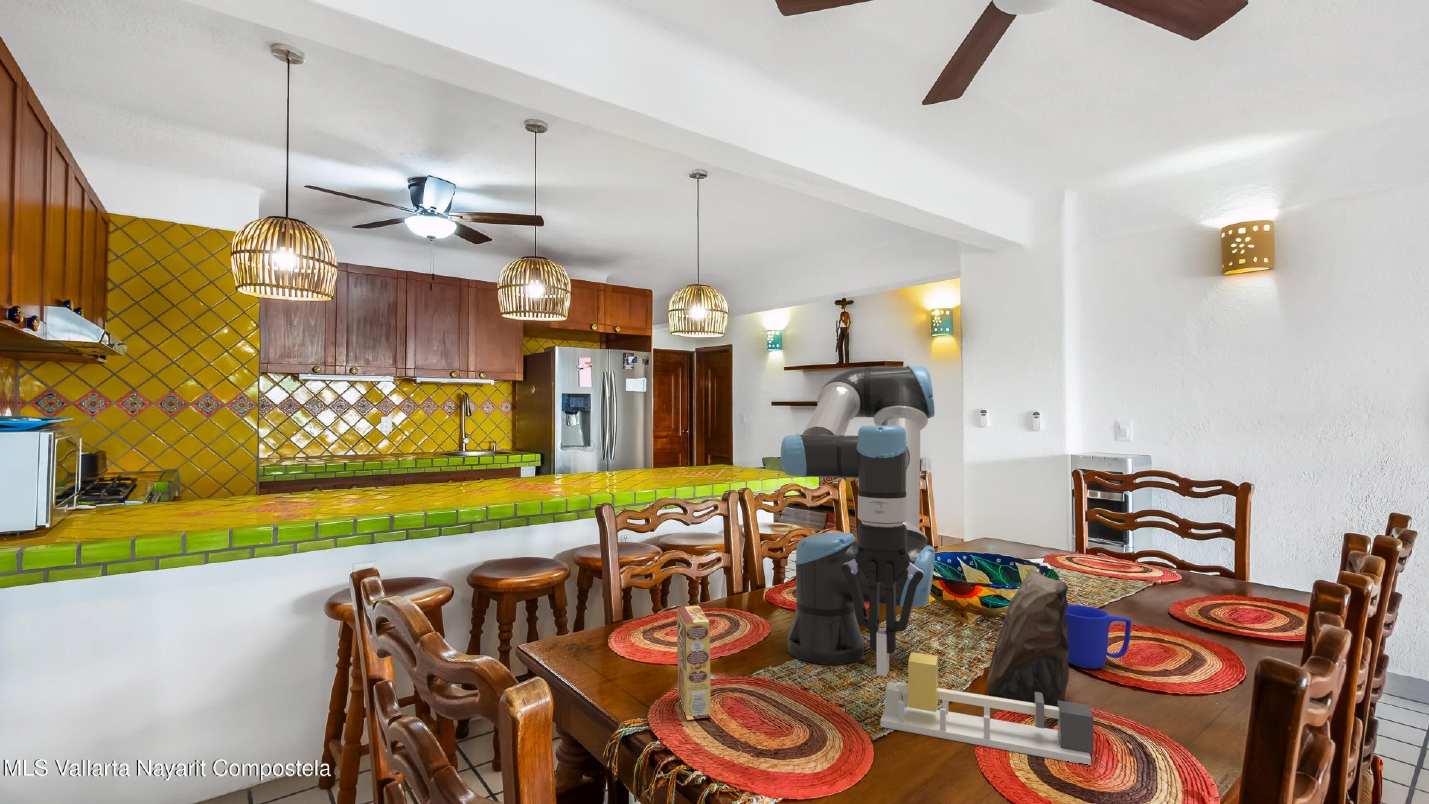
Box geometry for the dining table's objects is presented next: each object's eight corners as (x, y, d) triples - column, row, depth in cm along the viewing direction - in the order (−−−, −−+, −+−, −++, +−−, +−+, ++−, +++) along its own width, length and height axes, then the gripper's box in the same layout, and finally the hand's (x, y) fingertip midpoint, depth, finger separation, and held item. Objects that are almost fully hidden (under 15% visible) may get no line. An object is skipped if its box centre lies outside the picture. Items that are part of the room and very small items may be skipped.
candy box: (712, 719, 101) (711, 621, 101) (685, 722, 100) (685, 623, 100) (700, 695, 109) (700, 604, 109) (675, 697, 108) (675, 606, 108)
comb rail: (880, 726, 98) (880, 681, 98) (887, 707, 105) (886, 665, 105) (1095, 766, 87) (1094, 716, 87) (1087, 742, 93) (1087, 695, 93)
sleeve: (908, 707, 98) (908, 661, 98) (911, 696, 102) (911, 652, 102) (936, 712, 96) (935, 665, 96) (938, 701, 100) (937, 655, 100)
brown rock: (1022, 674, 117) (1021, 565, 118) (1095, 700, 107) (1094, 579, 107) (982, 692, 110) (981, 575, 110) (1056, 721, 100) (1055, 592, 100)
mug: (1140, 675, 117) (1140, 620, 117) (1068, 670, 119) (1067, 616, 119) (1121, 658, 125) (1121, 607, 125) (1054, 654, 127) (1053, 603, 127)
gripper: (835, 523, 101) (836, 674, 101) (922, 529, 96) (923, 688, 95) (846, 516, 108) (846, 658, 107) (927, 521, 103) (928, 670, 102)
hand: (882, 672), depth 101 cm, fingers closed
